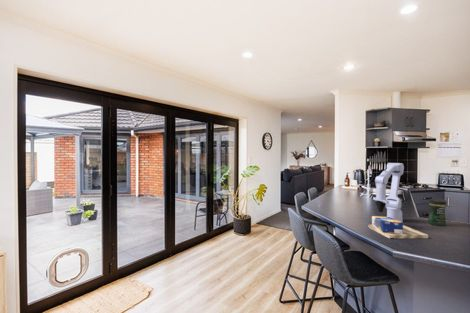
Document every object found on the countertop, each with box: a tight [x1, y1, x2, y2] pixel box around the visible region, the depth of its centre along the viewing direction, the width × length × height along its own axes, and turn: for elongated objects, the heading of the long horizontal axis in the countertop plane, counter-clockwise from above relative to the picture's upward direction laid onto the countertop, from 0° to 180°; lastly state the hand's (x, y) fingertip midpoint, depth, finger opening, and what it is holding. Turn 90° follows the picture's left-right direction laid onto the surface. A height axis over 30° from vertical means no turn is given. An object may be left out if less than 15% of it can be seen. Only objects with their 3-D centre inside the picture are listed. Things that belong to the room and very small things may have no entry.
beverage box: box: [371, 215, 404, 234], centre depth 158 cm, size 7×11×22 cm
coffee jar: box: [427, 198, 447, 227], centre depth 174 cm, size 10×8×19 cm
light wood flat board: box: [367, 224, 429, 239], centre depth 155 cm, size 24×22×2 cm
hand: (380, 212), depth 171 cm, fingers closed
